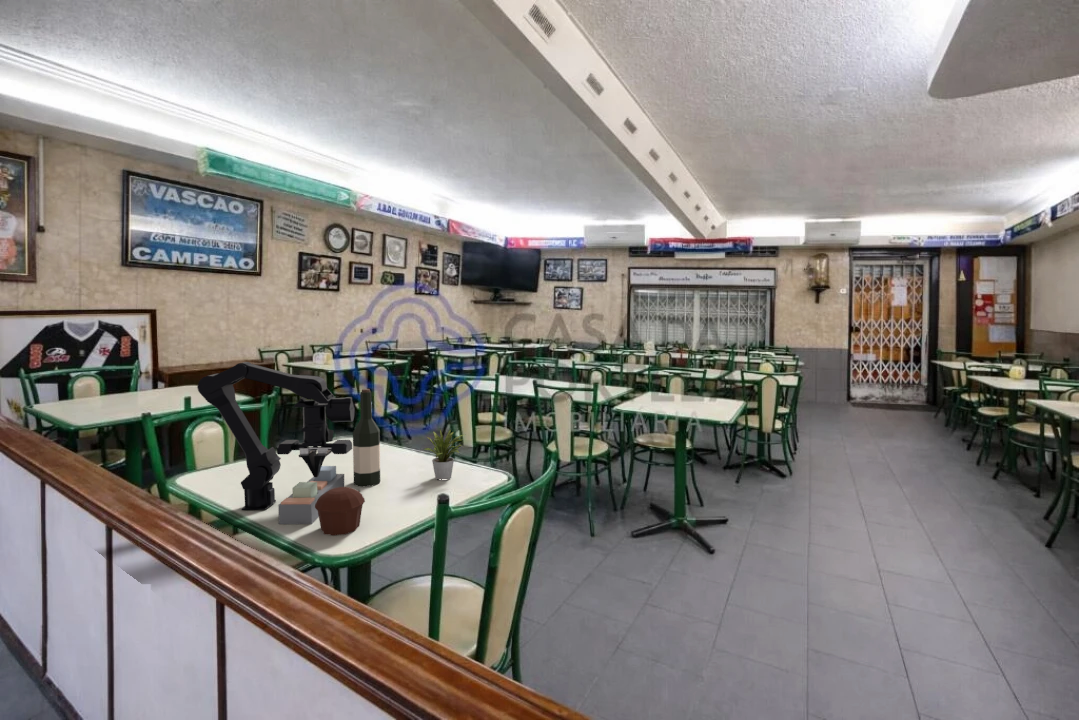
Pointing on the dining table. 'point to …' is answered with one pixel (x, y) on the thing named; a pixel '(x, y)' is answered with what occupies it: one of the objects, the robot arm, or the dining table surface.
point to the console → (305, 504)
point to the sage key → (305, 490)
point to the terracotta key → (320, 484)
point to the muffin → (340, 510)
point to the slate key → (326, 473)
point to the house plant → (443, 455)
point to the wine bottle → (366, 445)
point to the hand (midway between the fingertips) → (316, 476)
